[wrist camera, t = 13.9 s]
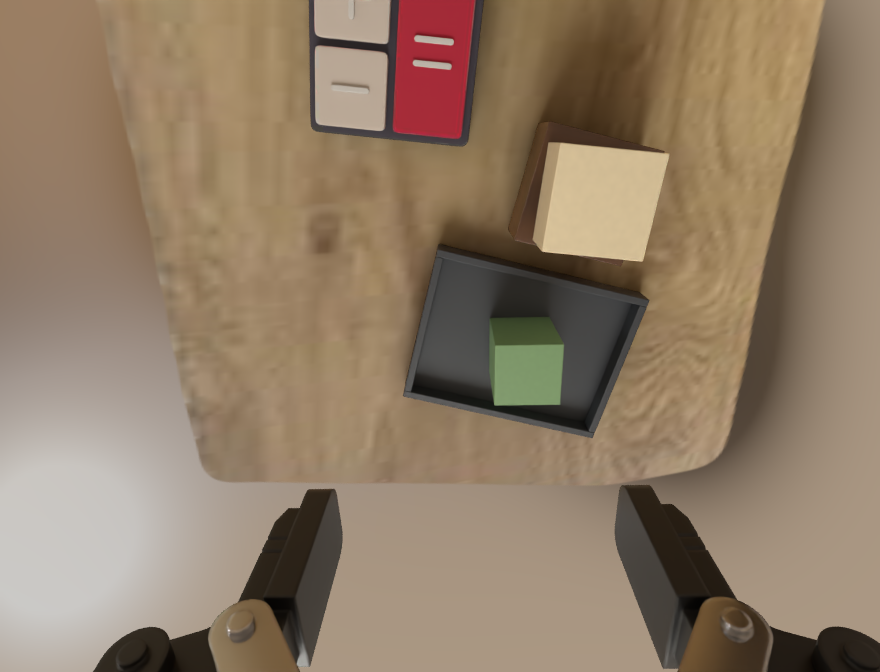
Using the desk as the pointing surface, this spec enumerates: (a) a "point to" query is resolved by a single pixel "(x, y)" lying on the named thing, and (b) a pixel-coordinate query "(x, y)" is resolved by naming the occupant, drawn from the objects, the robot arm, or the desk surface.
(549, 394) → the green block
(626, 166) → the cream block
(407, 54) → the calculator
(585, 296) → the tray
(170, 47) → the desk surface
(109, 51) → the desk surface
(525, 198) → the walnut block
